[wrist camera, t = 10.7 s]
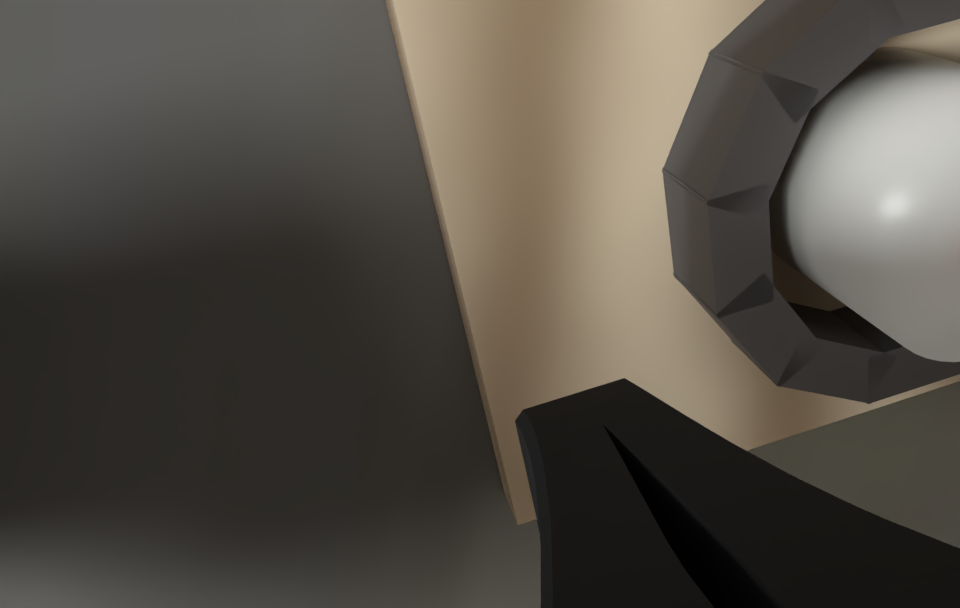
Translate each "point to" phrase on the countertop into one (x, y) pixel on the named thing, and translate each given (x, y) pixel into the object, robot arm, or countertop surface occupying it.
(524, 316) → the board
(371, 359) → the countertop surface
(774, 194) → the cap
